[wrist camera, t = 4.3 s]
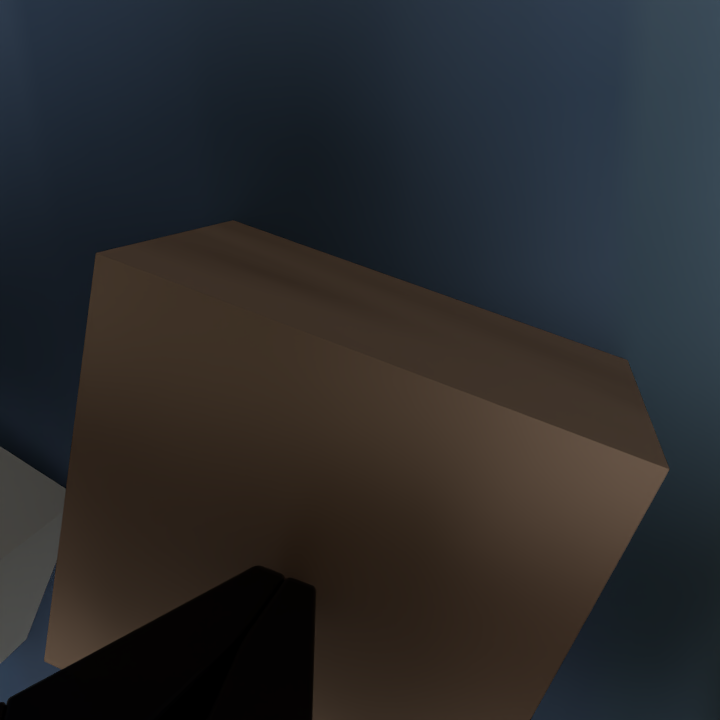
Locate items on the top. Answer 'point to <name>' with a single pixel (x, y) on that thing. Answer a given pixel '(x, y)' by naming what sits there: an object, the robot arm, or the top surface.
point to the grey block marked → (25, 545)
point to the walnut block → (346, 470)
